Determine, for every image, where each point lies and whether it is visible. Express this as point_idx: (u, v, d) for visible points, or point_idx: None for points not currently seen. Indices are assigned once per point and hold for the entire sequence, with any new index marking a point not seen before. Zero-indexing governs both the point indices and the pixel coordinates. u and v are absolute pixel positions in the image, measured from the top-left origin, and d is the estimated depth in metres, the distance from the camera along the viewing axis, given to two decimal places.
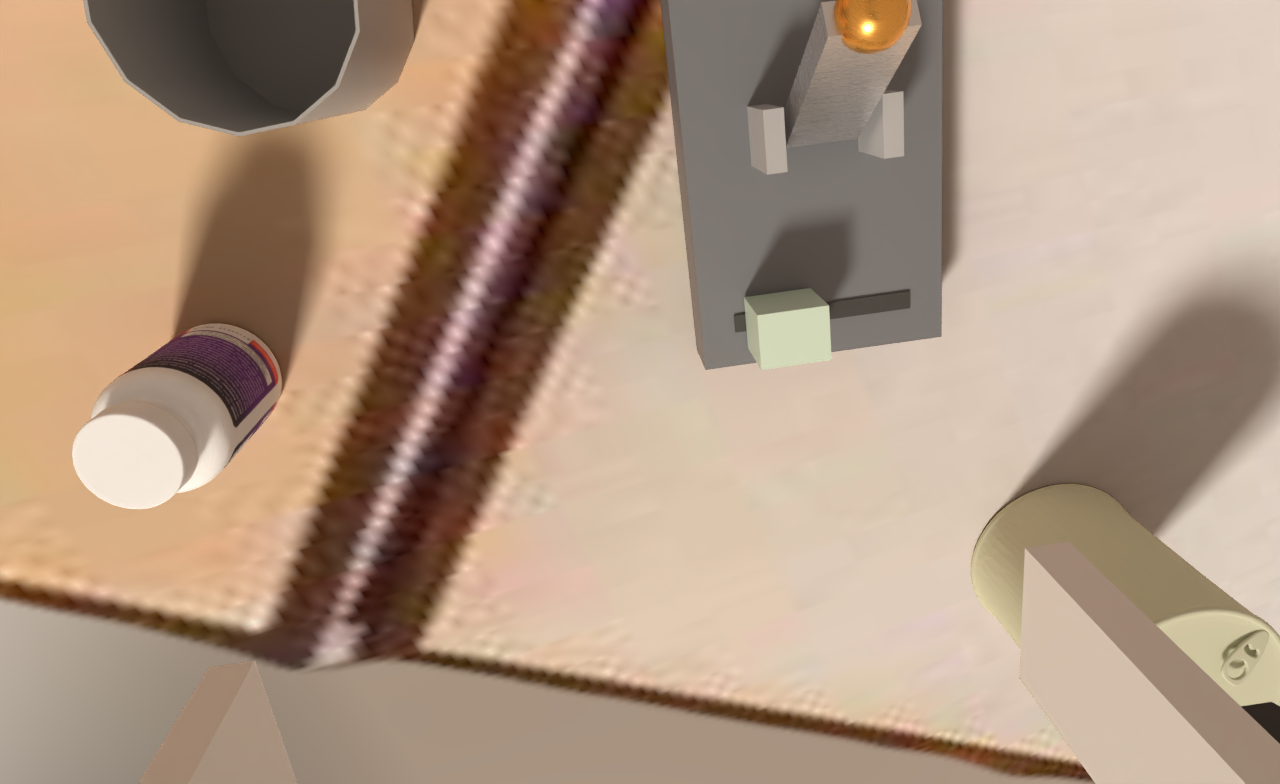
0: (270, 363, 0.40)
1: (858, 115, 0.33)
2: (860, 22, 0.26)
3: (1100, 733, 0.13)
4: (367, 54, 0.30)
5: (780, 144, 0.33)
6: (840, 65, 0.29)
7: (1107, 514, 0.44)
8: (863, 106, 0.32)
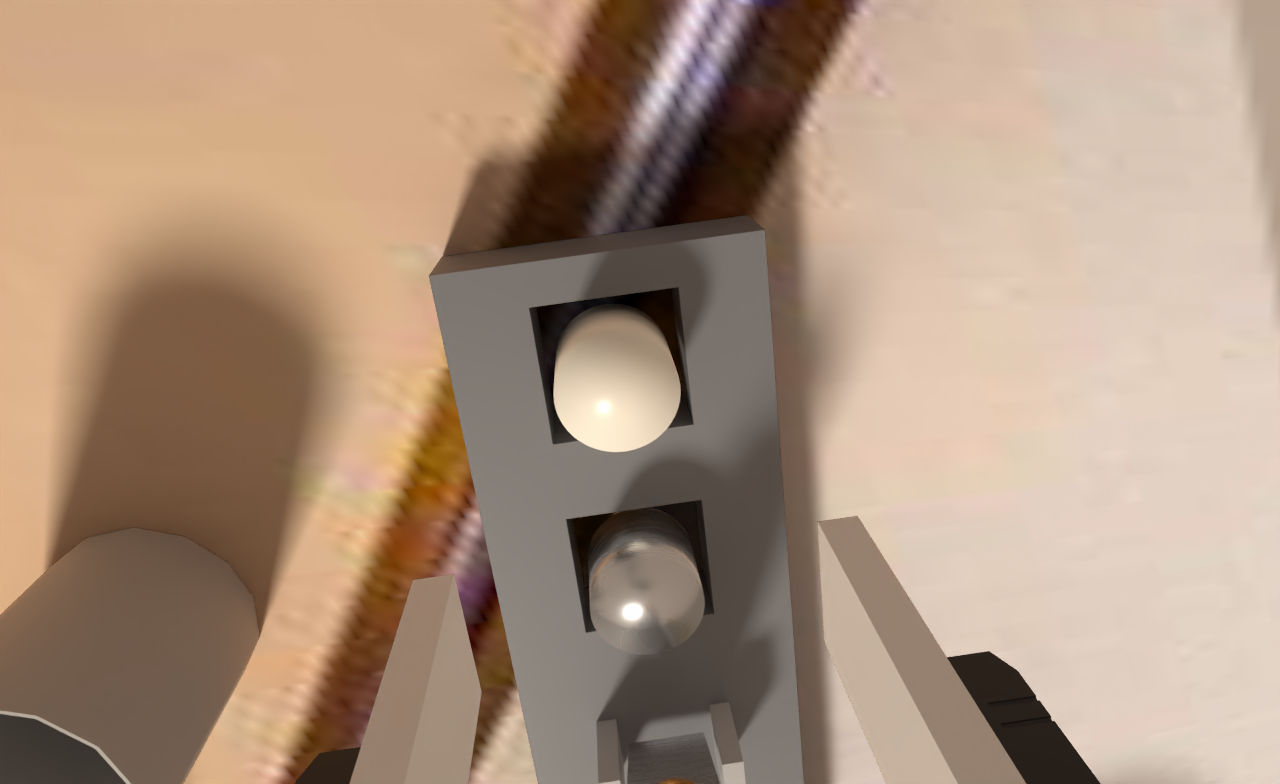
0: None
1: None
2: None
3: (861, 684, 0.14)
4: None
5: None
6: None
7: None
8: None
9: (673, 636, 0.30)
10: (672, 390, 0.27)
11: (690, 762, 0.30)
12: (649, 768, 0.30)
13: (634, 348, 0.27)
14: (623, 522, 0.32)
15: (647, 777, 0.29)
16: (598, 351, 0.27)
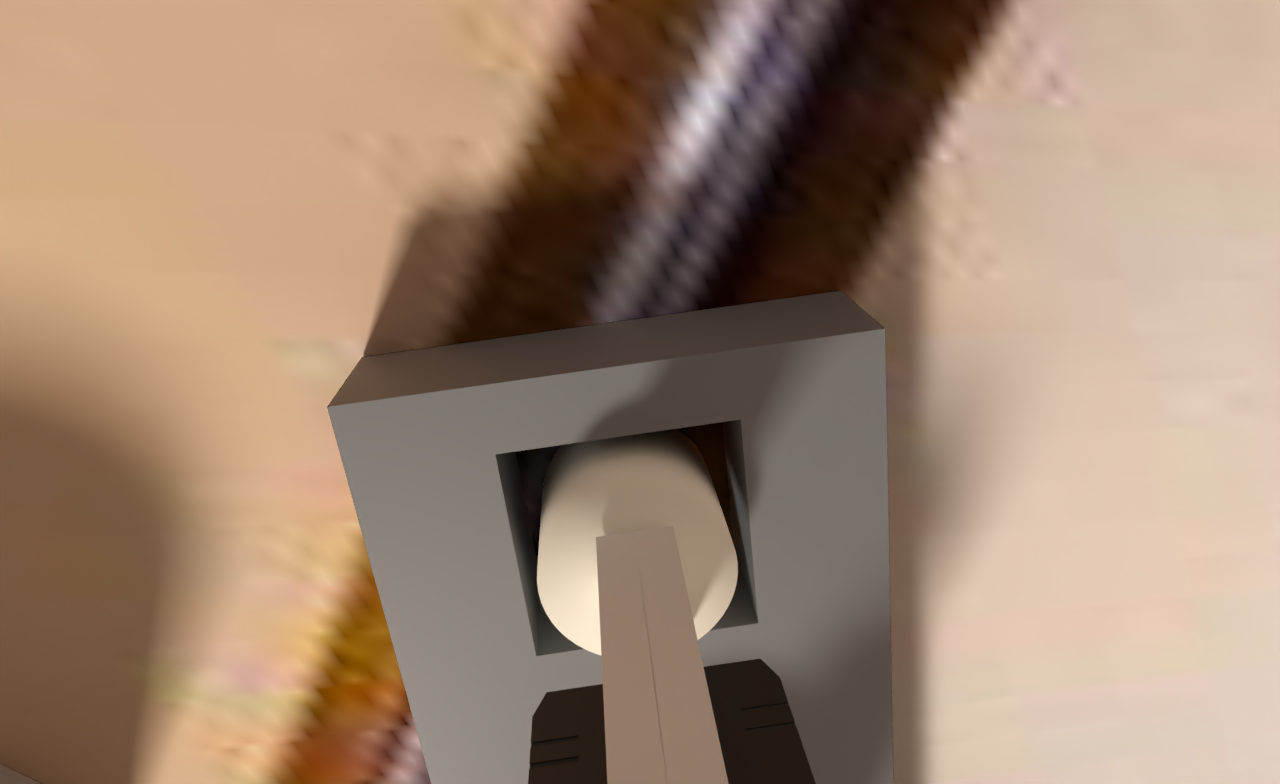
0: None
1: None
2: None
3: None
4: None
5: None
6: None
7: None
8: None
9: None
10: (724, 570, 0.17)
11: None
12: None
13: (666, 509, 0.17)
14: None
15: None
16: (608, 515, 0.17)
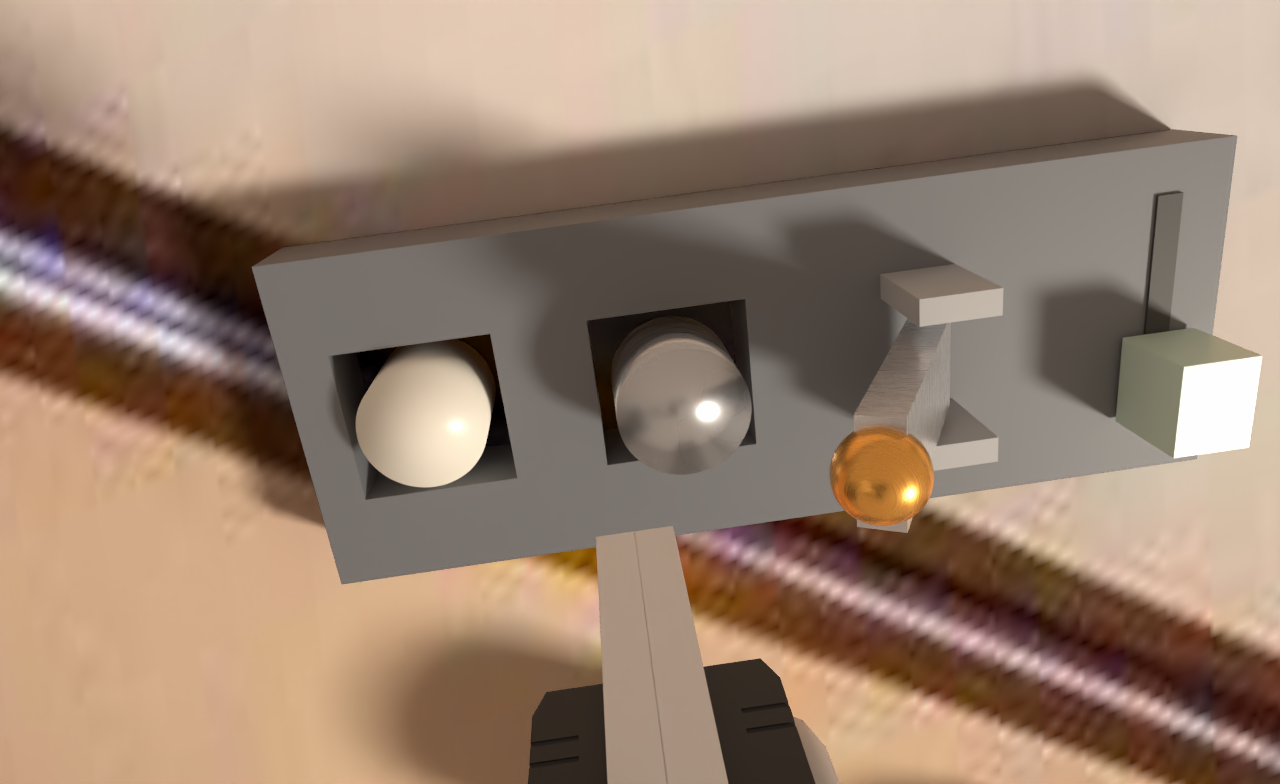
0: None
1: (941, 353, 0.25)
2: (905, 517, 0.20)
3: None
4: None
5: (963, 449, 0.26)
6: None
7: None
8: (937, 362, 0.24)
9: (728, 383, 0.25)
10: (415, 376, 0.26)
11: None
12: None
13: (371, 414, 0.26)
14: None
15: None
16: (377, 447, 0.27)
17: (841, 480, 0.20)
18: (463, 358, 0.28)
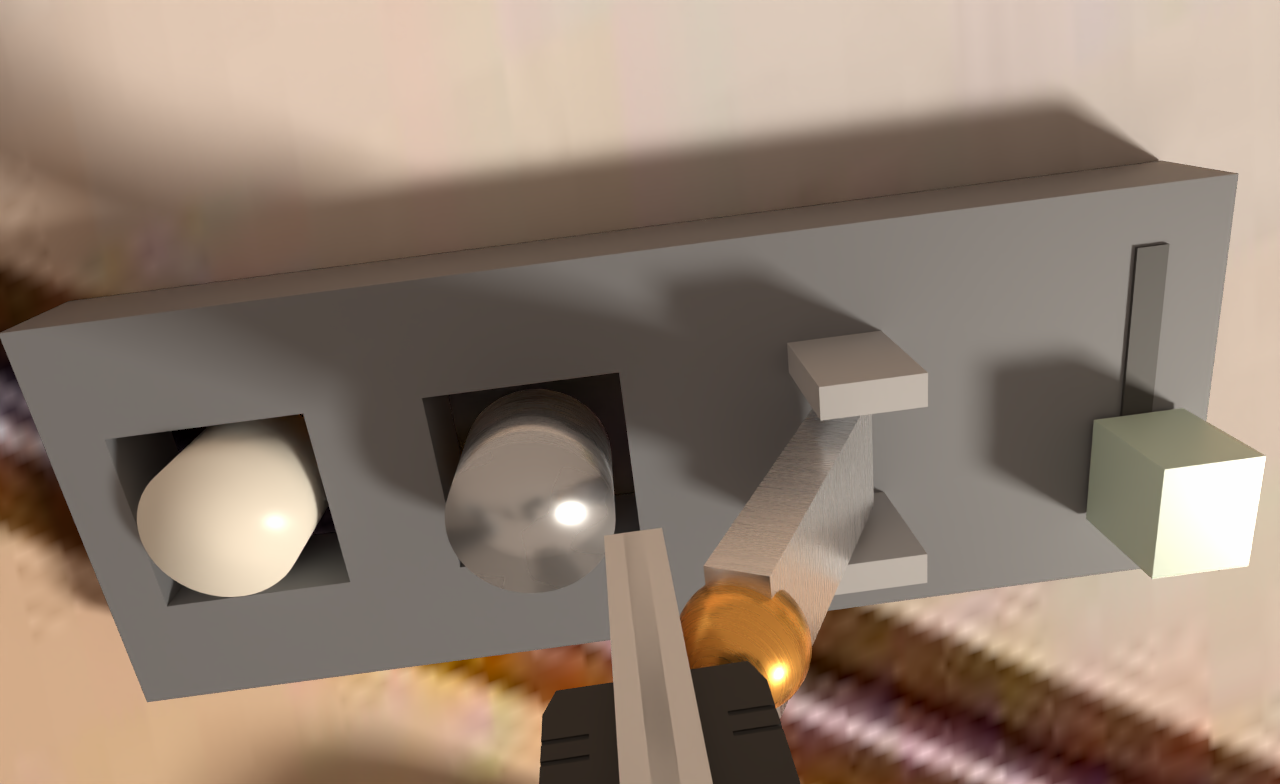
0: None
1: (852, 453, 0.19)
2: None
3: None
4: None
5: (883, 568, 0.21)
6: (806, 617, 0.17)
7: None
8: (844, 466, 0.19)
9: (584, 484, 0.20)
10: (205, 467, 0.21)
11: None
12: None
13: (155, 511, 0.22)
14: None
15: None
16: (166, 550, 0.22)
17: None
18: (283, 437, 0.23)
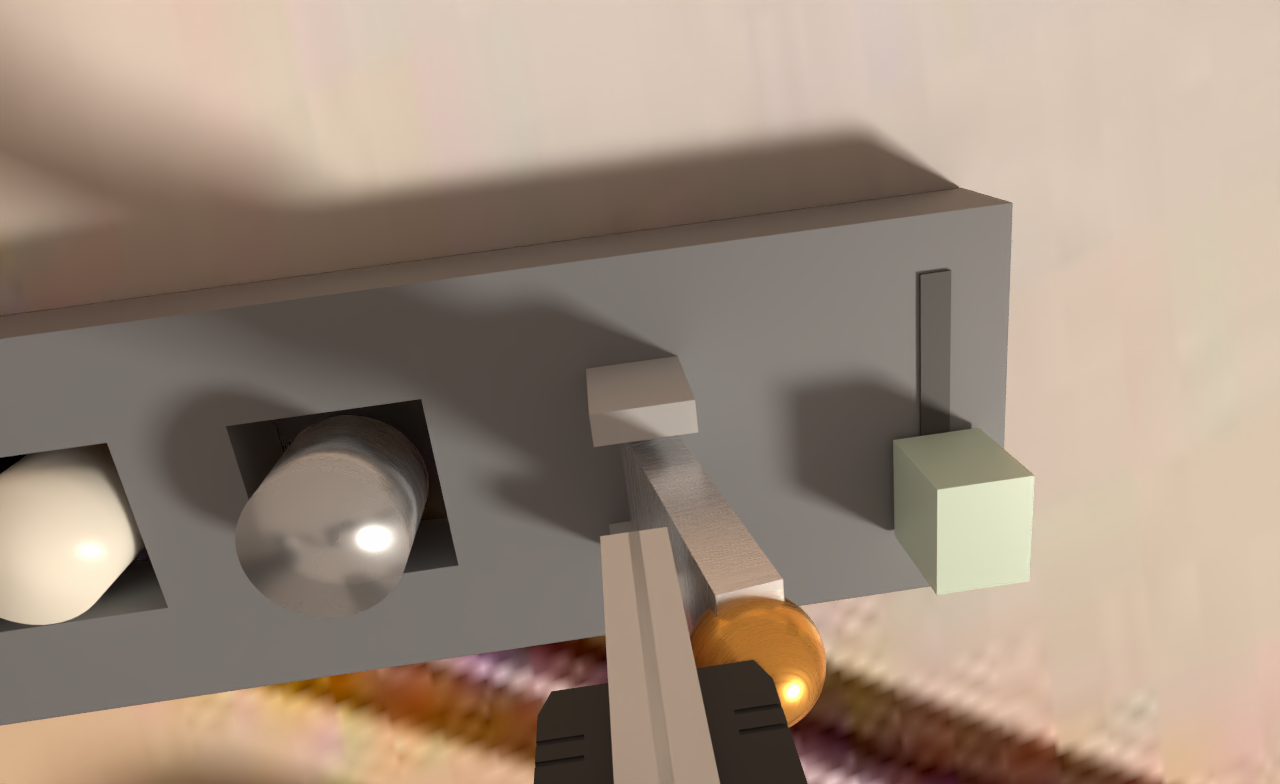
0: None
1: None
2: (811, 708, 0.15)
3: None
4: None
5: None
6: None
7: None
8: None
9: (372, 510, 0.20)
10: (4, 497, 0.21)
11: (661, 525, 0.18)
12: None
13: None
14: None
15: None
16: None
17: None
18: (98, 465, 0.23)
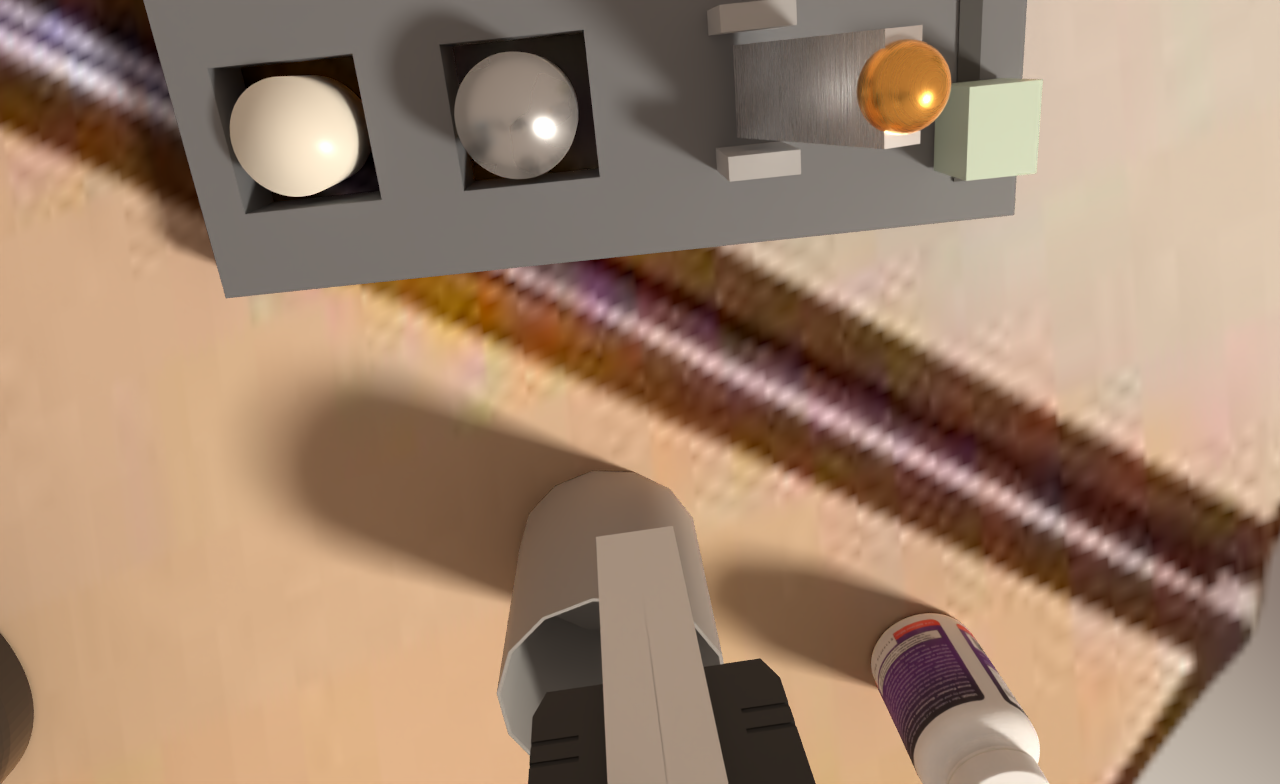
0: (918, 625, 0.42)
1: None
2: None
3: None
4: None
5: (768, 159, 0.29)
6: None
7: None
8: None
9: (554, 88, 0.28)
10: (281, 84, 0.29)
11: (800, 65, 0.26)
12: (803, 116, 0.26)
13: (243, 120, 0.30)
14: None
15: (822, 119, 0.25)
16: (249, 154, 0.30)
17: (904, 80, 0.22)
18: (335, 87, 0.31)
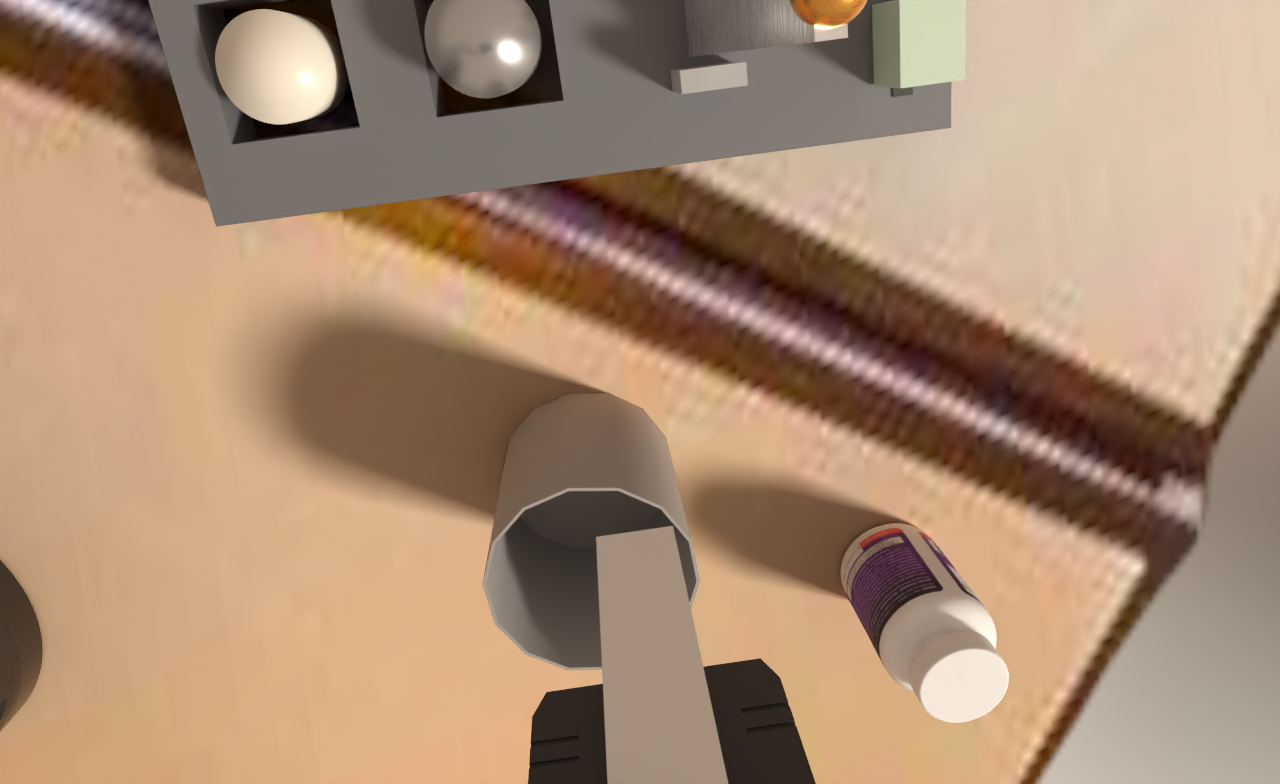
0: (883, 533, 0.44)
1: None
2: None
3: None
4: (632, 468, 0.35)
5: (717, 72, 0.31)
6: None
7: None
8: None
9: (517, 10, 0.30)
10: (262, 17, 0.31)
11: None
12: (745, 25, 0.29)
13: (227, 52, 0.32)
14: None
15: (761, 24, 0.28)
16: (234, 84, 0.32)
17: None
18: (312, 22, 0.33)
